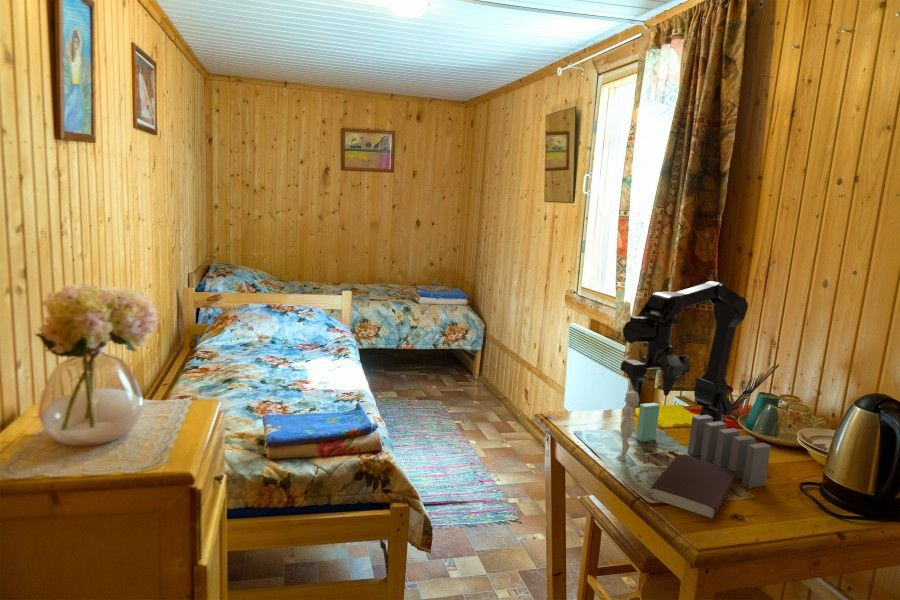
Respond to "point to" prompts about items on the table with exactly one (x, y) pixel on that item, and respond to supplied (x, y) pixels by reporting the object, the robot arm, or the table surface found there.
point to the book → (694, 485)
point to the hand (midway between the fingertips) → (651, 396)
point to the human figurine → (628, 422)
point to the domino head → (647, 422)
